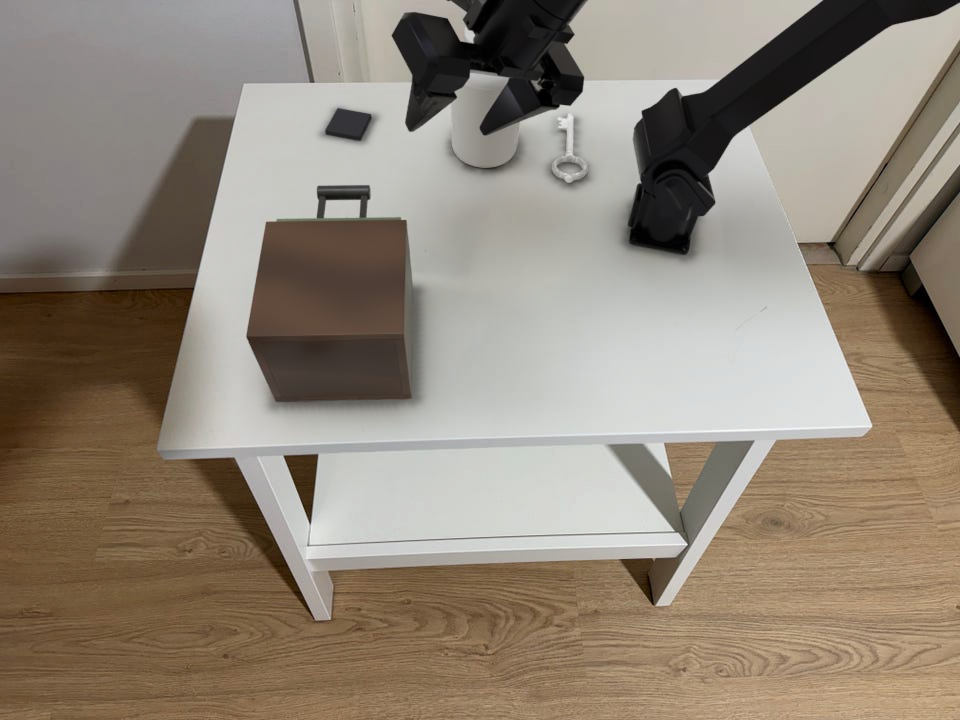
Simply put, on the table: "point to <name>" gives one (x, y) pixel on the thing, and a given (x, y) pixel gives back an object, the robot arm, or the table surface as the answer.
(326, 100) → the table surface
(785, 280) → the table surface
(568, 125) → the key
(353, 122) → the pad
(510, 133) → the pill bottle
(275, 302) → the cabinet
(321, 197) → the drawer
